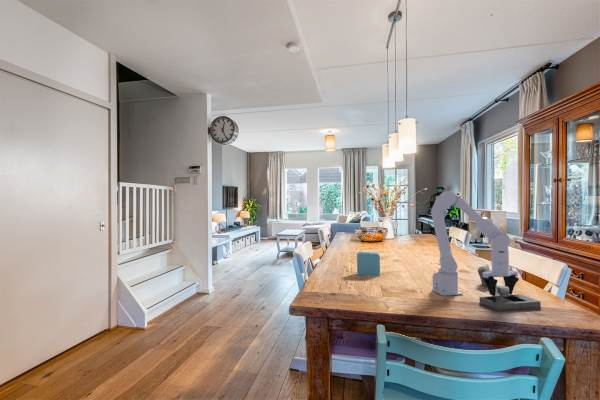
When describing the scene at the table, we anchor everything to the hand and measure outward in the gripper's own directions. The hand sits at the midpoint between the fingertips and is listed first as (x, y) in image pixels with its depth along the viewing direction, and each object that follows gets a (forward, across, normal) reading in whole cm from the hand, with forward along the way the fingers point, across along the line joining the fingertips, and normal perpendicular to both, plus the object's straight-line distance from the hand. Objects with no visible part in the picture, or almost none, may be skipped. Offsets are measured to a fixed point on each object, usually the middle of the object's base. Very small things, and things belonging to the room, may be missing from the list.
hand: (500, 294), depth 113 cm
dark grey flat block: (+1, -4, -8) cm, 9 cm away
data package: (+2, -39, +44) cm, 59 cm away
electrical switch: (+2, +8, +16) cm, 18 cm away
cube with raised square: (+2, 0, 0) cm, 2 cm away
